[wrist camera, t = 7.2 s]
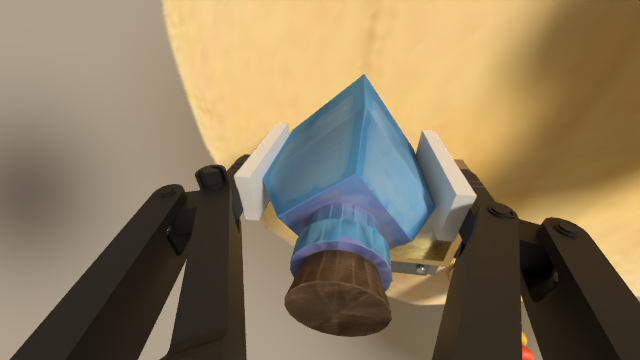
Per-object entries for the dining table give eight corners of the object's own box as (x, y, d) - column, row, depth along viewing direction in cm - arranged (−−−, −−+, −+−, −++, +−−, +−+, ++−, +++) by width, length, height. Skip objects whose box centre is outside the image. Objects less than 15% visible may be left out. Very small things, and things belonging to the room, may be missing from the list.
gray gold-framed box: (369, 154, 31) (371, 184, 26) (462, 159, 30) (486, 192, 24) (357, 242, 42) (357, 277, 36) (426, 249, 40) (438, 286, 35)
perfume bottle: (364, 74, 14) (368, 201, 4) (413, 148, 16) (489, 343, 6) (292, 130, 17) (195, 283, 7) (342, 187, 19) (321, 362, 9)
